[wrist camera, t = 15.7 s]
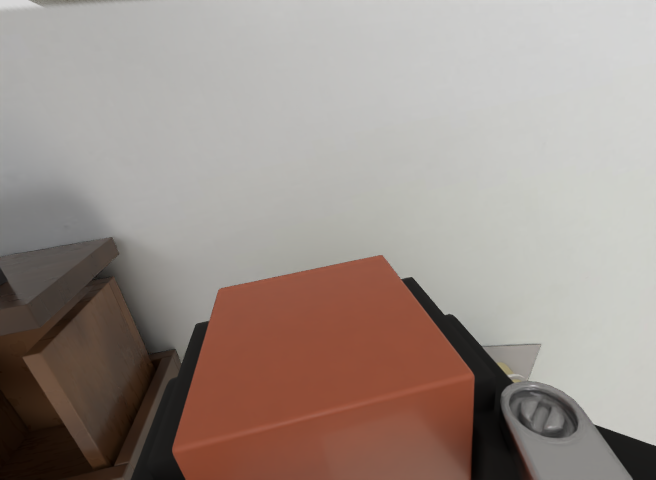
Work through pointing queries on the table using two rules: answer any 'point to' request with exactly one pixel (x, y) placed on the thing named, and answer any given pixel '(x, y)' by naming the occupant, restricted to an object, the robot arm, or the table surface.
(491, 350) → the stacked layers on plate
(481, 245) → the table surface
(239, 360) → the block
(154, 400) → the cabinet
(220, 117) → the table surface
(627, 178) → the table surface
